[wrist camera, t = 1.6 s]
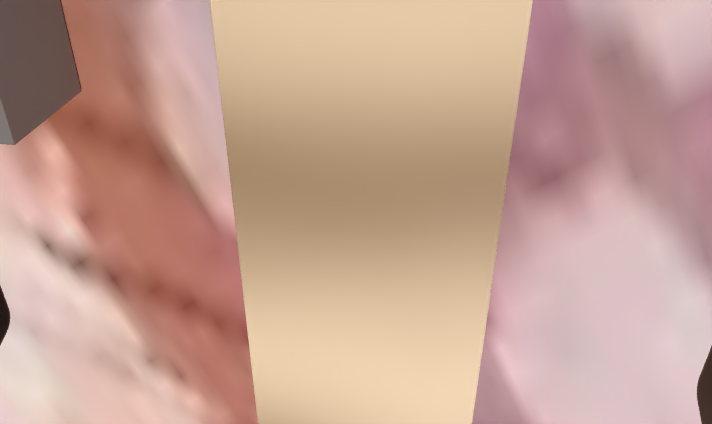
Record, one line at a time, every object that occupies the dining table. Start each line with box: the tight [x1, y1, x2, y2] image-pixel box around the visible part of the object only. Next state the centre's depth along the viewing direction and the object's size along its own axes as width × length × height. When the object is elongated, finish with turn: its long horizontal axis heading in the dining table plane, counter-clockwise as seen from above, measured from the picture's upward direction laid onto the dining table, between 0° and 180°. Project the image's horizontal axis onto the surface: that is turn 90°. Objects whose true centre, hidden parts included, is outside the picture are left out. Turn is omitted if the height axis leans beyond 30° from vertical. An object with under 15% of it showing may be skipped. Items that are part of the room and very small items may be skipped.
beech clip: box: [210, 0, 533, 424], centre depth 13 cm, size 12×4×6 cm, turn 0°
